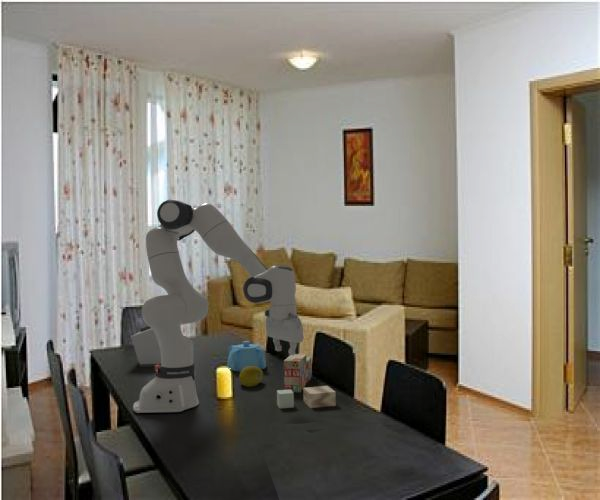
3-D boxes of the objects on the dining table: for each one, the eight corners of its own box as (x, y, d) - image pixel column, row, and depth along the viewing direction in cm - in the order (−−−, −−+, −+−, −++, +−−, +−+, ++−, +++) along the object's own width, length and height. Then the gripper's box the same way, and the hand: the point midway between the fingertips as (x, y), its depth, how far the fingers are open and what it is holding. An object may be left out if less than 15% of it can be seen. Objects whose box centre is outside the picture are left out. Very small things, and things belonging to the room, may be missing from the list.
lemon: (244, 390, 232) (243, 369, 232) (234, 386, 239) (234, 366, 239) (268, 386, 238) (268, 366, 238) (258, 382, 245) (258, 362, 245)
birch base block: (310, 408, 208) (310, 394, 208) (303, 401, 216) (303, 387, 216) (335, 406, 210) (335, 391, 210) (327, 399, 219) (327, 385, 219)
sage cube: (279, 408, 208) (279, 394, 208) (277, 404, 213) (276, 390, 213) (293, 407, 209) (293, 393, 209) (291, 403, 214) (290, 389, 214)
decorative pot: (265, 368, 272) (264, 337, 272) (266, 376, 256) (266, 343, 256) (228, 369, 271) (227, 338, 270) (227, 377, 255) (226, 345, 254)
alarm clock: (167, 372, 267) (166, 326, 266) (131, 373, 267) (130, 326, 267) (178, 362, 287) (177, 319, 287) (144, 363, 288) (143, 320, 287)
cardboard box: (297, 379, 250) (296, 349, 249) (312, 379, 248) (311, 349, 248) (284, 392, 229) (283, 359, 229) (300, 393, 228) (299, 360, 227)
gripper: (307, 314, 203) (308, 356, 203) (277, 309, 220) (279, 347, 221) (290, 316, 200) (292, 358, 200) (262, 311, 217) (263, 349, 217)
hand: (285, 352), depth 210 cm, fingers open, 8 cm apart
